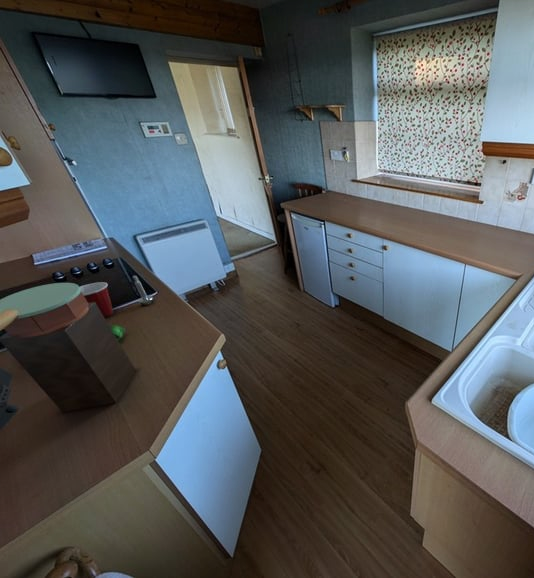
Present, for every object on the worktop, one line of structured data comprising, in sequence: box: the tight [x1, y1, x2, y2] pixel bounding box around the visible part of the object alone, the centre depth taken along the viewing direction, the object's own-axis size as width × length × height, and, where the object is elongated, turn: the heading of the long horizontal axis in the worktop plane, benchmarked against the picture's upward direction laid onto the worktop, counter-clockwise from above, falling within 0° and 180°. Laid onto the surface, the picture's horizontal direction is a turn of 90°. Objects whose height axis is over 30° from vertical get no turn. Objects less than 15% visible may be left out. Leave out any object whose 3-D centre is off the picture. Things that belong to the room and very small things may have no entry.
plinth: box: [0, 292, 137, 413], centre depth 75 cm, size 14×14×30 cm
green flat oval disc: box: [0, 282, 81, 332], centre depth 62 cm, size 26×15×3 cm, turn 15°
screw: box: [132, 275, 154, 306], centre depth 116 cm, size 13×5×5 cm
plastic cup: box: [79, 281, 114, 319], centre depth 109 cm, size 11×11×12 cm
